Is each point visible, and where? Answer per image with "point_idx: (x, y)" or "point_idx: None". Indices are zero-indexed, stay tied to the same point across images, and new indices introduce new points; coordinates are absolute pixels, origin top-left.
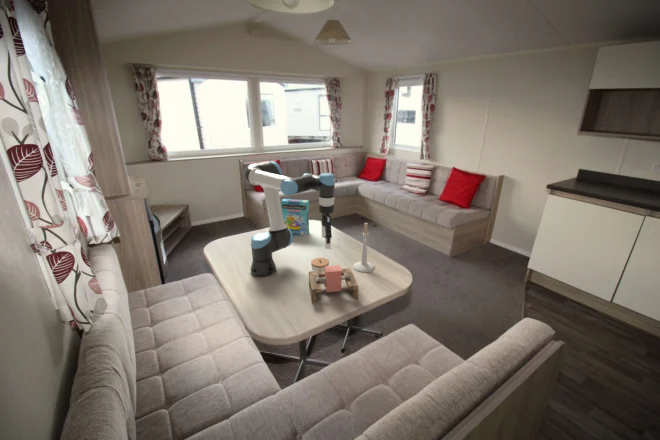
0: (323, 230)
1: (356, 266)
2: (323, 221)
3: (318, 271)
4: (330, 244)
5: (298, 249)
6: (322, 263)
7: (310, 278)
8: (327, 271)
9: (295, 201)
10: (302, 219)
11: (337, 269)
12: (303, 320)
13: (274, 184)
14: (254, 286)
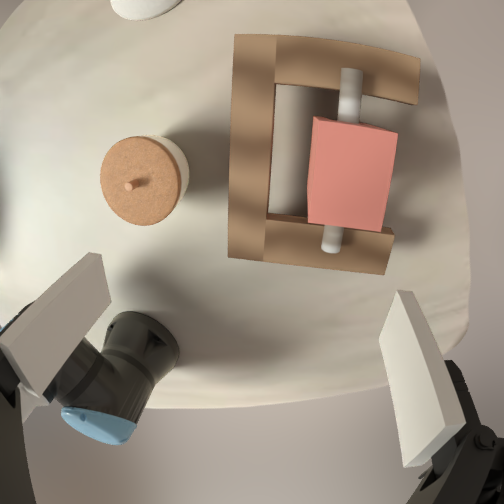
0: (59, 344)
1: (150, 7)
2: (29, 498)
3: (235, 212)
4: (429, 330)
5: (23, 224)
6: (155, 175)
7: (293, 262)
8: (376, 223)
9: None
10: None
11: (372, 153)
12: (437, 286)
13: None
14: (226, 371)
